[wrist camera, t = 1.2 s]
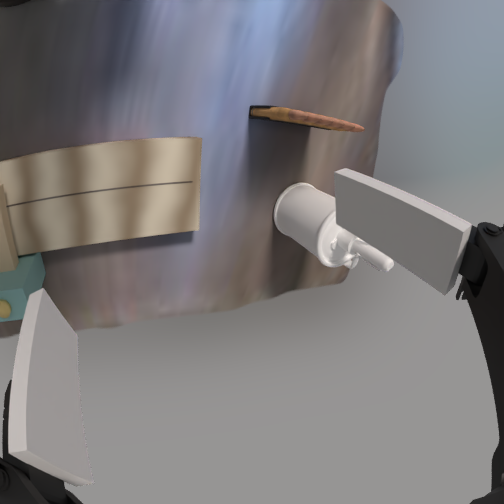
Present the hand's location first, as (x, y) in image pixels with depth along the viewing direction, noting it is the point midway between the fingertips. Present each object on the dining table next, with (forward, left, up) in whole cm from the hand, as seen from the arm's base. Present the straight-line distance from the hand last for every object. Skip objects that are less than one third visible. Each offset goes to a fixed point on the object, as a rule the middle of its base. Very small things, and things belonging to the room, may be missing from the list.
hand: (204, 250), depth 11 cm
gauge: (-7, -19, -27) cm, 34 cm away
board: (-3, -9, -27) cm, 28 cm away
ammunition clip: (+8, +19, -27) cm, 34 cm away
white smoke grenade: (+23, +13, -27) cm, 38 cm away
